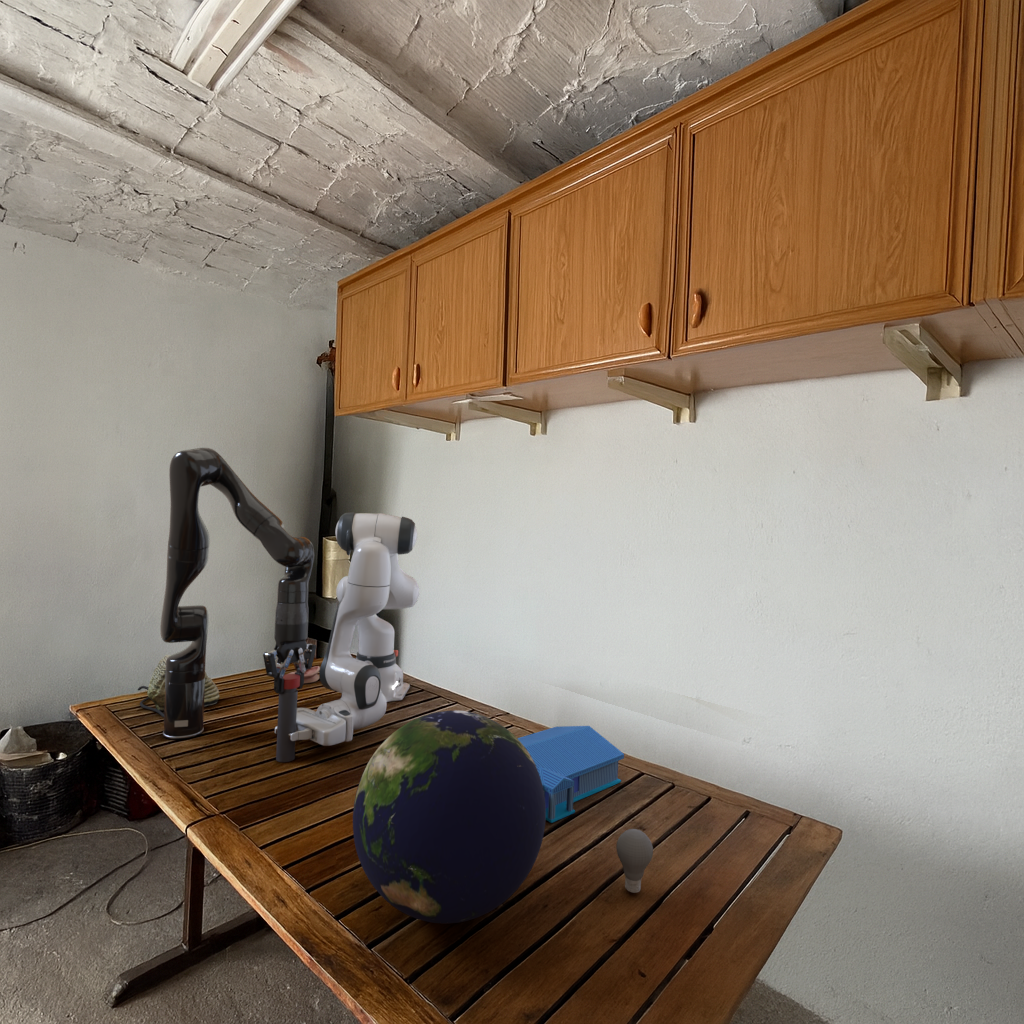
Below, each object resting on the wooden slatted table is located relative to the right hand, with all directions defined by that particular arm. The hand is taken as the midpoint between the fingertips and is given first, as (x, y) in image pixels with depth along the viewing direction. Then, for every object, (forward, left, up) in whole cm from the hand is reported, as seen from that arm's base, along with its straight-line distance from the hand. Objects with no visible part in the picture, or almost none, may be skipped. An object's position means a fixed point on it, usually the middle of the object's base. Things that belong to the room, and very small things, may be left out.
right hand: (283, 734), depth 151 cm
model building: (-2, +61, -6) cm, 61 cm away
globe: (+41, +54, -6) cm, 68 cm away
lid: (-1, 0, +13) cm, 13 cm away
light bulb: (+29, +83, -6) cm, 88 cm away
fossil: (-25, -47, -6) cm, 54 cm away
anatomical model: (-59, -31, -6) cm, 67 cm away
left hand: (-1, 0, +10) cm, 10 cm away
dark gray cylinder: (-1, 0, -6) cm, 6 cm away
